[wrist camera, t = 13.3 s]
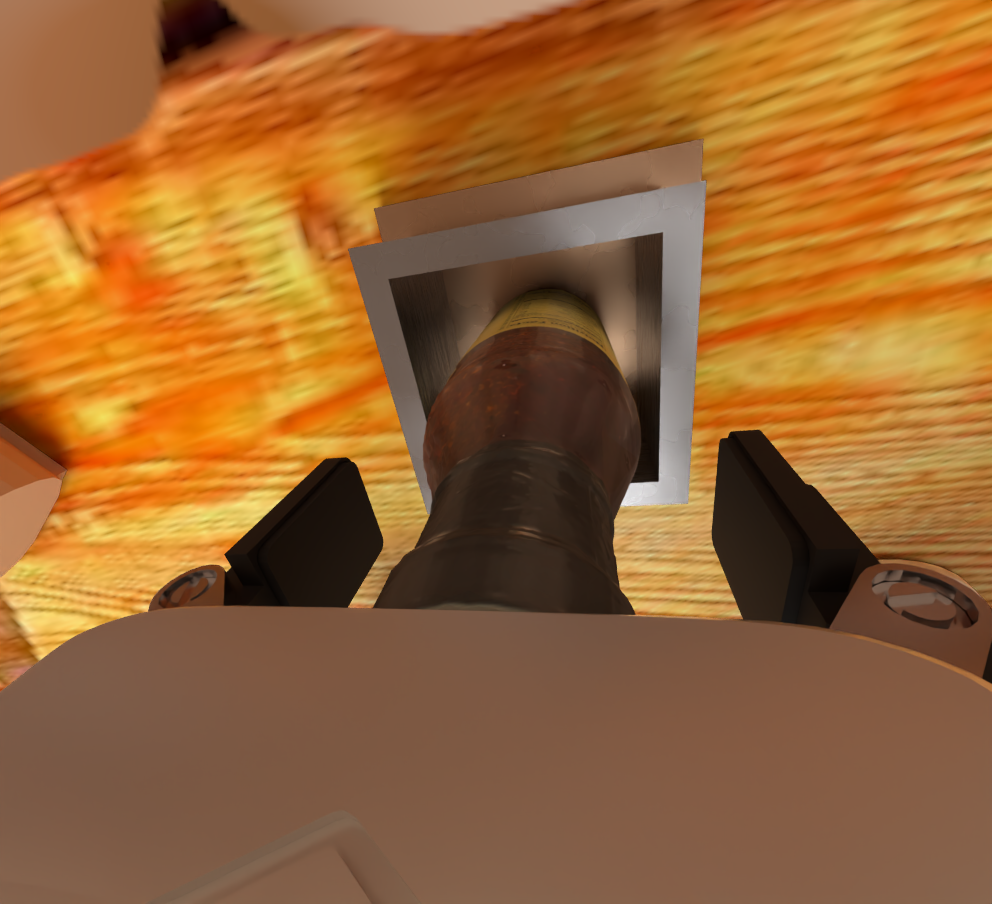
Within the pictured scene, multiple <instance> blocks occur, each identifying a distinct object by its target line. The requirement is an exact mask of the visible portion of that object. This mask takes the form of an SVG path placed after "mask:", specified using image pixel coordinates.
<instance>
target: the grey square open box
mask: <svg viewBox="0 0 992 904" xmlns="http://www.w3.org/2000/svg"><path fill="white" fill-rule="evenodd" d="M702 158H703V139H699V140H695V141H690V142H685V143H680V144H676V145H671V146H666V147H661V148H657V149H652V150H647V151H643V152H638V153H633V154H628V155H624V156H619V157H614V158H610V159H605V160H600V161H595V162H591V163H586V164H581V165H577V166H572V167H567V168H562V169H558V170H553V171H548V172H544V173H539V174H534V175H529V176H525V177H520V178H515V179H511V180H506V181H501V182H496V183H492V184H487V185H482V186H477V187H473V188H468V189H463V190H459V191H454V192H449V193H444V194H440V195H435V196H430V197H426V198H421V199H416V200H411V201H407V202H402V203H397V204H393V205H388V206H383V207H378V208H374V211H375V215H376V219H377V222H378V226H379V230H380V234H381V237H382V241H383V242H382V243H377V244H371V245H366V246H361V247H356V248H351V249H348V251H349V254H350V257H351V261H352V264H353V267H354V271H355V274H356V277H357V281H358V284H359V287H360V291H361V294H362V297H363V300H364V304H365V307H366V310H367V314H368V317H369V320H370V324H371V327H372V330H373V334H374V337H375V340H376V344H377V347H378V350H379V354H380V357H381V360H382V364H383V367H384V370H385V374H386V377H387V380H388V384H389V387H390V390H391V394H392V397H393V400H394V404H395V407H396V410H397V413H398V417H399V420H400V423H401V427H402V430H403V433H404V437H405V440H406V443H407V447H408V450H409V453H410V457H411V460H412V463H413V467H414V470H415V473H416V477H417V480H418V483H419V487H420V490H421V493H422V497H423V500H424V503H425V507H426V510H427V513H428V514H430V510H431V503H432V495H431V490H430V487H429V485H428V483H427V474H426V471H425V469H424V464H423V443H424V435H425V429H426V424H427V422H428V415H429V413H430V412H431V407H432V406H433V404H434V403H435V401H436V398H437V396H438V394H439V393H440V392H441V391H442V390H443V388H444V387H445V385H446V384H447V381H448V379H449V378H450V376H451V375H452V373H453V372H454V371H455V369H456V366H457V364H458V363H459V361H460V360H461V359H462V357H463V356H464V355H465V354H466V352H467V351H468V350H469V348H470V347H471V346H472V344H473V343H474V342H475V341H476V339H477V338H478V337H479V335H480V334H481V333H482V331H483V330H484V329H485V328H486V326H487V325H488V324H489V323H490V321H491V320H492V319H493V317H494V316H495V315H496V313H497V312H498V311H499V310H500V309H501V308H502V307H503V306H504V305H505V304H507V303H508V302H509V301H511V300H512V299H514V298H516V297H518V296H519V295H522V294H524V293H526V292H528V291H530V290H537V289H556V290H563V291H565V292H568V293H570V294H573V295H575V296H577V297H578V298H580V299H581V300H583V301H584V302H585V303H586V304H588V305H589V306H590V307H591V308H592V309H593V311H594V312H595V313H596V314H597V315H598V317H599V318H600V320H601V322H602V324H603V326H604V328H605V331H606V333H607V335H608V338H609V341H610V343H611V346H612V348H613V351H614V353H615V356H616V358H617V361H618V363H619V366H620V368H621V370H622V373H623V375H624V377H625V380H626V382H627V385H628V387H629V389H630V391H631V394H632V397H633V399H634V402H635V404H636V408H637V413H638V417H639V423H640V429H641V448H640V455H639V460H638V464H637V467H636V470H635V473H634V476H633V478H632V480H631V483H630V485H629V487H628V490H627V492H626V494H625V497H624V499H623V501H622V503H621V506H641V505H666V504H688V495H689V477H690V460H691V442H692V425H693V407H694V389H695V372H696V354H697V337H698V319H699V302H700V284H701V266H702V249H703V231H704V214H705V196H706V180H704V181H701V177H702Z"/></svg>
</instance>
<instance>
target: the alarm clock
mask: <svg viewBox="0 0 992 904" xmlns="http://www.w3.org/2000/svg"><path fill="white" fill-rule="evenodd" d="M66 471H67V470H66V469H65V468H64V467H62V466H61V465H59V464H58V463H57V462H55V461H54V460H52V459H51V458H49V457H48V456H47V455H45V454H44V453H42V452H41V451H40V450H38V449H37V448H35V447H34V446H33V445H31V444H30V443H28V442H27V441H25V440H24V439H23V438H21V437H20V436H18V435H17V434H16V433H14V432H13V431H11V430H10V429H8V428H7V427H6V426H4V425H3V424H1V423H0V577H2V576H3V575H4V574H5V573H6V572H7V571H8V570H10V569H11V568H12V567H13V566H14V565H15V564H16V563H17V562H18V561H19V560H20V559H21V558H22V557H23V555H24V554H25V553H26V551H27V550H28V549H29V548H30V546H31V545H32V544H33V542H34V541H35V539H36V537H37V535H38V534H39V532H40V530H41V528H42V526H43V524H44V522H45V521H46V519H47V517H48V515H49V513H50V511H51V510H52V508H53V506H54V504H55V502H56V500H57V498H58V497H59V493H60V488H61V484H62V479H63V477H64V475H65V473H66Z"/></svg>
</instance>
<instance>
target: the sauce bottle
mask: <svg viewBox="0 0 992 904" xmlns="http://www.w3.org/2000/svg"><path fill="white" fill-rule="evenodd" d="M640 448H641V429H640V423H639V417H638V413H637V408H636V404H635V402H634V399H633V397H632V394H631V391H630V389H629V387H628V385H627V382H626V380H625V377H624V375H623V373H622V370H621V368H620V366H619V363H618V361H617V358H616V356H615V353H614V351H613V348H612V346H611V343H610V341H609V338H608V335H607V333H606V331H605V328H604V326H603V324H602V322H601V320H600V318H599V317H598V315H597V314H596V313H595V312H594V311H593V309H592V308H591V307H590V306H589V305H588V304H586V303H585V302H584V301H583V300H581V299H580V298H578V297H577V296H575V295H573V294H570V293H568V292H565V291H563V290H556V289H537V290H530V291H528V292H526V293H524V294H522V295H519V296H518V297H516V298H514V299H512V300H511V301H509V302H508V303H507V304H505V305H504V306H503V307H502V308H501V309H500V310H499V311H498V312H497V313H496V315H495V316H494V317H493V319H492V320H491V321H490V323H489V324H488V325H487V326H486V328H485V329H484V330H483V331H482V333H481V334H480V335H479V337H478V338H477V339H476V341H475V342H474V343H473V344H472V346H471V347H470V348H469V350H468V351H467V352H466V354H465V355H464V356H463V357H462V359H461V360H460V361H459V363H458V364H457V366H456V369H455V371H454V372H453V373H452V375H451V376H450V378H449V379H448V381H447V384H446V385H445V387H444V388H443V390H442V391H441V392H440V393H439V394H438V396H437V398H436V401H435V403H434V404H433V406H432V407H431V412H430V413H429V415H428V422H427V424H426V429H425V435H424V443H423V464H424V469H425V471H426V474H427V483H428V485H429V487H430V490H431V495H432V503H431V510H430V516H429V519H428V521H427V523H426V525H425V527H424V529H423V531H422V533H421V536H420V538H419V540H418V542H417V544H416V546H415V549H414V550H412V551H410V552H409V553H408V554H406V555H405V556H404V557H403V558H402V560H401V561H400V562H399V563H398V564H397V565H396V566H395V568H394V569H393V570H392V571H391V573H390V575H389V577H388V579H387V581H386V583H385V585H384V587H383V589H382V591H381V593H380V595H379V597H378V599H377V601H376V603H375V605H374V606H373V608H379V609H421V610H463V611H505V612H547V613H583V614H617V615H636V614H635V612H634V610H633V608H632V606H631V604H630V602H629V601H628V599H627V597H626V596H625V595H624V594H623V593H622V591H621V590H620V587H619V580H618V575H617V564H616V557H615V555H614V550H613V537H614V519H615V517H616V515H617V512H618V510H619V508H620V506H621V503H622V501H623V499H624V497H625V494H626V492H627V490H628V487H629V485H630V483H631V480H632V478H633V476H634V473H635V470H636V467H637V464H638V460H639V455H640Z"/></svg>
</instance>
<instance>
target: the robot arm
mask: <svg viewBox="0 0 992 904" xmlns="http://www.w3.org/2000/svg"><path fill="white" fill-rule="evenodd" d="M712 541H713V545H714V548H715V551H716V553H717V556H718V558H719V561H720V563H721V566H722V568H723V571H724V573H725V575H726V578H727V580H728V583H729V585H730V588H731V590H732V593H733V595H734V598H735V600H736V603H737V605H738V608H739V610H740V612H741V615H742V617H743V620H742V619H725V618H707V617H686V616H652V615H617V614H583V613H547V612H505V611H463V610H421V609H379V608H348V606H349V604H350V603H351V601H352V599H353V598H354V596H355V594H356V593H357V591H358V589H359V587H360V586H361V584H362V582H363V581H364V579H365V577H366V576H367V574H368V572H369V571H370V569H371V567H372V566H373V564H374V562H375V561H376V559H377V557H378V556H379V554H380V552H381V550H382V548H383V537H382V534H381V531H380V528H379V526H378V523H377V520H376V517H375V515H374V512H373V509H372V506H371V503H370V501H369V498H368V495H367V492H366V490H365V487H364V484H363V481H362V479H361V476H360V473H359V470H358V467H357V465H356V464H355V463H354V462H351V461H350V460H349V459H348V458H346V457H345V458H330V459H325V460H324V461H323V462H322V463H320V464H319V465H318V466H317V467H316V468H315V469H314V470H313V471H312V472H311V473H310V474H309V475H308V476H307V477H306V478H305V479H304V480H303V481H301V482H300V483H299V484H298V485H297V486H296V487H295V488H294V489H293V490H292V491H291V492H290V493H289V494H288V495H287V496H286V497H285V498H284V499H282V500H281V501H280V502H279V503H278V504H277V505H276V506H275V507H274V508H273V509H272V510H271V511H270V512H269V513H268V514H267V515H266V516H265V517H263V518H262V519H261V520H260V521H259V522H258V523H257V524H256V525H255V526H254V527H253V528H252V529H251V530H250V531H249V532H248V533H247V534H245V535H244V536H243V537H242V538H241V539H240V540H239V541H238V542H237V543H236V544H235V545H234V546H233V547H232V548H231V549H230V550H229V551H228V552H226V553H225V554H224V555H225V556H226V558H227V560H228V561H229V563H230V565H231V568H230V569H229V570H228V571H227V572H225V570H224V568H223V567H221V566H219V565H206V566H201V567H198V568H195V569H192V570H190V571H188V572H186V573H183V574H181V575H179V576H178V577H176V578H175V579H173V580H172V581H170V582H169V583H167V584H166V585H165V586H164V587H163V588H161V589H160V590H159V591H158V593H157V594H156V595H155V596H154V597H153V599H152V601H151V603H150V606H149V610H148V612H144V613H139V614H135V615H131V616H127V617H124V618H120V619H117V620H114V621H111V622H108V623H105V624H102V625H100V626H97V627H95V628H92V629H90V630H87V631H85V632H83V633H81V634H79V635H77V636H75V637H73V638H71V639H70V640H68V641H66V642H65V643H63V644H62V645H61V646H59V647H58V648H56V649H55V650H53V651H52V652H51V653H49V654H48V655H47V656H45V657H44V658H43V659H42V660H40V661H39V662H38V663H36V664H35V665H34V666H32V667H31V668H30V669H29V670H27V671H26V672H25V673H24V674H22V675H21V676H20V677H18V678H17V679H16V680H15V681H13V682H12V683H11V684H10V685H8V686H7V687H6V688H5V689H3V690H2V691H1V692H0V904H992V610H991V608H990V607H989V605H988V604H987V602H986V601H985V600H984V599H983V598H982V597H981V596H980V595H979V594H978V593H977V592H976V591H975V590H974V589H973V588H972V587H971V586H970V585H969V584H968V583H967V582H966V581H964V580H963V579H962V578H961V577H959V576H958V575H957V574H955V573H953V572H950V571H948V570H946V569H944V568H942V567H939V566H935V565H932V564H928V563H924V562H918V561H910V560H901V559H899V560H877V559H876V557H875V556H874V555H873V554H872V553H871V552H870V550H869V549H868V548H867V547H866V546H865V545H864V544H863V542H862V541H861V540H860V539H859V538H858V537H857V536H856V534H855V533H854V532H853V531H852V530H851V529H850V527H849V526H848V525H847V524H846V523H845V522H844V521H843V519H842V518H841V517H840V516H839V515H838V514H837V512H836V511H835V510H834V509H833V508H832V507H831V506H830V504H829V503H828V502H827V501H826V500H825V499H824V497H823V496H822V495H821V494H820V493H819V492H818V491H817V489H815V488H814V487H813V486H812V485H808V484H805V483H804V481H803V480H802V479H801V478H800V477H799V476H798V474H797V473H796V472H795V471H794V470H793V468H792V467H791V466H790V465H789V464H788V463H787V461H786V460H785V459H784V458H783V457H782V455H781V454H780V453H779V452H778V451H777V449H776V448H775V447H774V446H773V445H772V444H771V442H770V441H769V440H768V439H767V438H766V436H765V435H764V434H763V433H762V432H761V431H760V430H748V431H733V432H730V433H729V436H728V438H722V439H721V440H720V443H719V453H718V464H717V476H716V488H715V499H714V511H713V523H712Z"/></svg>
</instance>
